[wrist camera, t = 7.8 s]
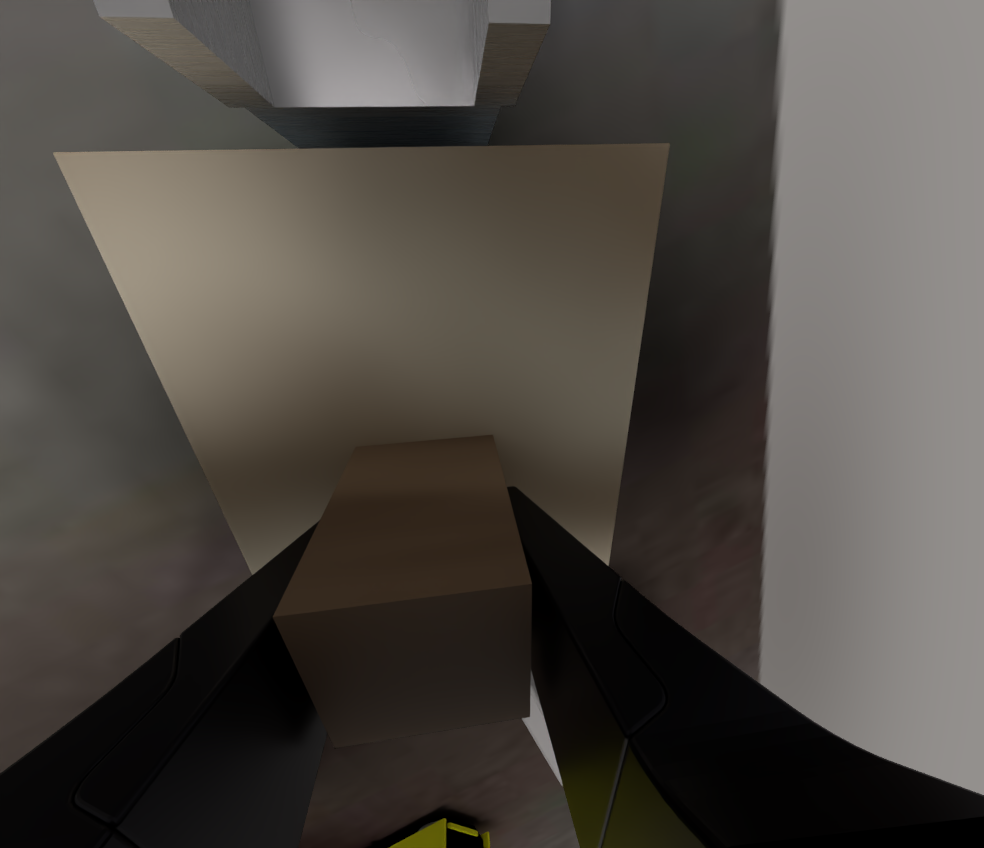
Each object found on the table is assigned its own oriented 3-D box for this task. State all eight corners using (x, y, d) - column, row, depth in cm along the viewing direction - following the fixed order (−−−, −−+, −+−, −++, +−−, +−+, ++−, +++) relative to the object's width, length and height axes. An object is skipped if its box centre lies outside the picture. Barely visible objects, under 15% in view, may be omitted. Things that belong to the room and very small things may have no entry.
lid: (587, 619, 12) (664, 815, 8) (314, 656, 12) (233, 899, 7) (642, 157, 7) (1024, -43, 2) (108, 167, 6) (-935, -116, 1)
